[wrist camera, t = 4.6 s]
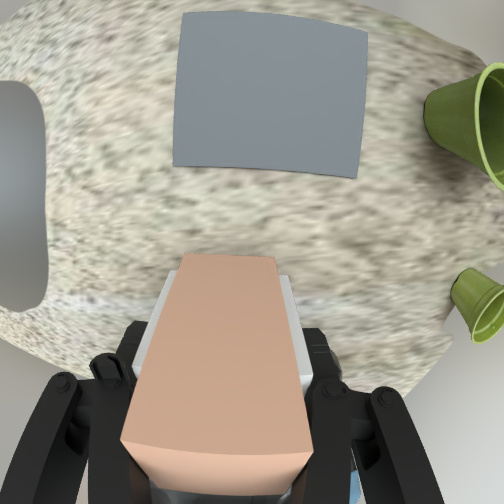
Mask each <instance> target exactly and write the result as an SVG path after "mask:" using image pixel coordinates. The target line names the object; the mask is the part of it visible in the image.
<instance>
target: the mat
mask: <svg viewBox="0 0 504 504" xmlns="http://www.w3.org/2000/svg"><path fill="white" fill-rule="evenodd" d="M367 51H368V32H365V31H361V30H358V29H354V28H350V27H346V26H342V25H338V24H334V23H329V22H324V21H319V20H314V19H308V18H302V17H296V16H288V15H280V14H271V13H259V12H239V11H208V12H188V13H183V18H182V26H181V34H180V43H179V52H178V63H177V75H176V89H175V106H174V131H173V166H213V167H240V168H258V169H273V170H286V171H297V172H308V173H317V174H326V175H335V176H343V177H350V178H357V173H358V166H359V158H360V150H361V141H362V132H363V122H364V111H365V97H366V80H367Z"/></svg>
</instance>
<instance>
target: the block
mask: <svg viewBox="0 0 504 504" xmlns="http://www.w3.org/2000/svg"><path fill="white" fill-rule="evenodd" d="M120 441H121V442H122V443H123V445H124V446H125V448H126V449H127V450H128V452H129V453H130V454H131V456H132V457H133V458H134V460H135V461H136V462H137V463H138V465H139V466H140V467H141V468H142V470H143V471H144V472H145V473H146V474H147V476H148V477H149V478H150V479H151V480H152V481H153V483H154V484H155V485H156V486H157V487H158V488H162V489H168V490H175V491H182V492H191V493H200V494H213V495H236V496H257V495H280V494H284V493H285V492H286V491H287V489H288V488H289V487H290V485H291V484H292V483H293V481H294V480H295V478H296V477H297V476H298V474H299V473H300V471H301V470H302V468H303V467H304V465H305V464H306V462H307V461H308V459H309V458H310V456H311V455H312V453H313V452H314V451H313V445H312V440H311V434H310V429H309V423H308V418H307V413H306V407H305V402H304V397H303V392H302V387H301V382H300V376H299V371H298V366H297V361H296V356H295V351H294V347H293V342H292V337H291V332H290V327H289V322H288V318H287V313H286V308H285V303H284V299H283V294H282V289H281V285H280V280H279V276H278V271H277V267H276V262H275V258H274V257H260V256H237V255H214V254H191V253H184V256H183V258H182V261H181V263H180V266H179V268H178V271H177V273H176V275H175V278H174V280H173V283H172V286H171V288H170V291H169V293H168V296H167V298H166V301H165V304H164V306H163V309H162V312H161V314H160V317H159V320H158V322H157V325H156V328H155V331H154V333H153V336H152V339H151V342H150V345H149V348H148V351H147V353H146V356H145V359H144V362H143V365H142V368H141V371H140V374H139V377H138V381H137V384H136V387H135V390H134V393H133V396H132V400H131V403H130V406H129V410H128V413H127V416H126V420H125V423H124V427H123V431H122V434H121V438H120Z"/></svg>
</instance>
